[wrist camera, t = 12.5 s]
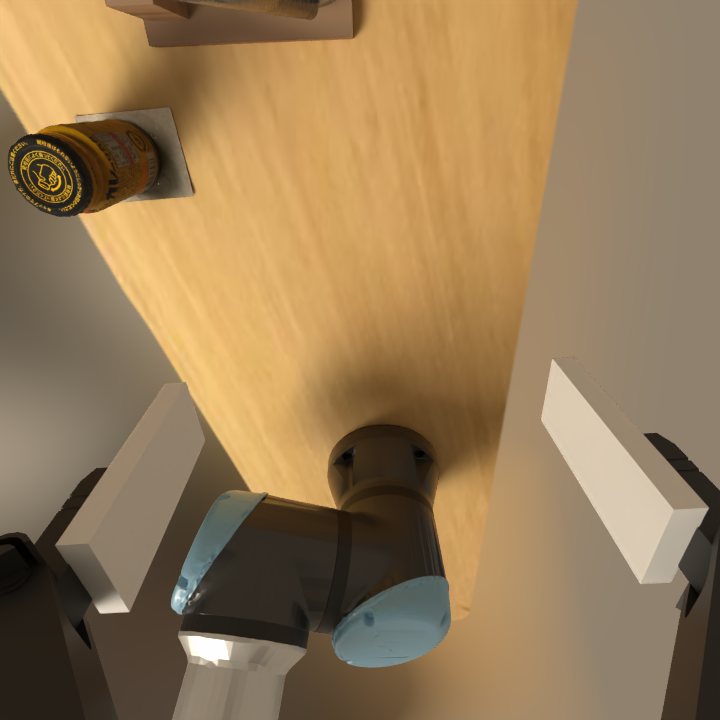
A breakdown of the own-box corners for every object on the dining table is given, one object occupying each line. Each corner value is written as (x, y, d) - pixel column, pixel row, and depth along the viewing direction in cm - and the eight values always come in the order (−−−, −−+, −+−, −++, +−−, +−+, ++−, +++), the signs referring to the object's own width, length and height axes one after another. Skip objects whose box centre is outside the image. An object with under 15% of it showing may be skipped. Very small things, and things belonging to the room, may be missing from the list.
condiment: (75, 116, 37) (-31, 125, 27) (170, 106, 37) (100, 112, 27) (108, 203, 41) (26, 239, 31) (194, 195, 41) (141, 229, 31)
